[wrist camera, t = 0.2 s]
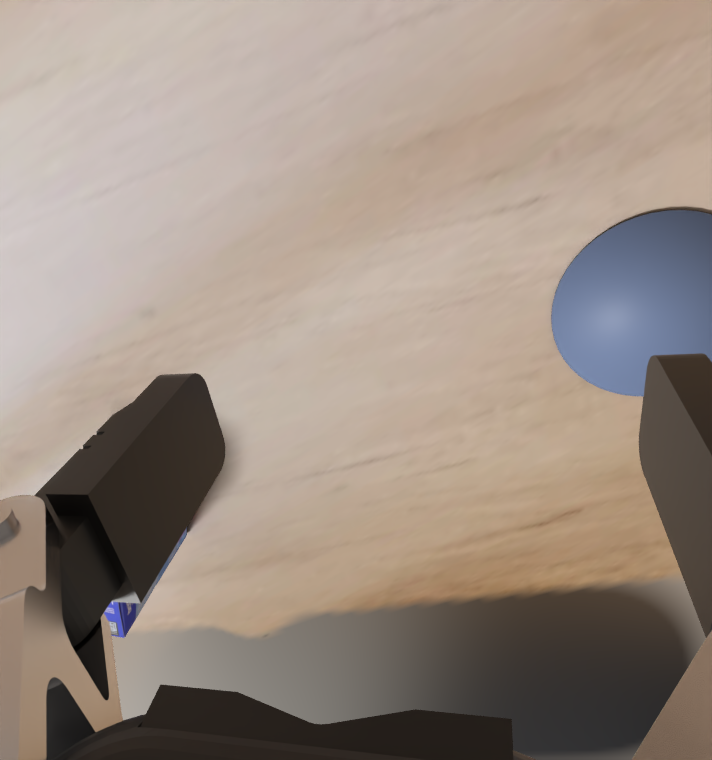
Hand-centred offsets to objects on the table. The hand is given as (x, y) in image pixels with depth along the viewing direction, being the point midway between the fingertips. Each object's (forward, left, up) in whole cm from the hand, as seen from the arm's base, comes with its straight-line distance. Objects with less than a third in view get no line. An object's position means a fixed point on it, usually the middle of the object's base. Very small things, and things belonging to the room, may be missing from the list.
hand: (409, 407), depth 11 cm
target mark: (+11, +12, -29) cm, 33 cm away
